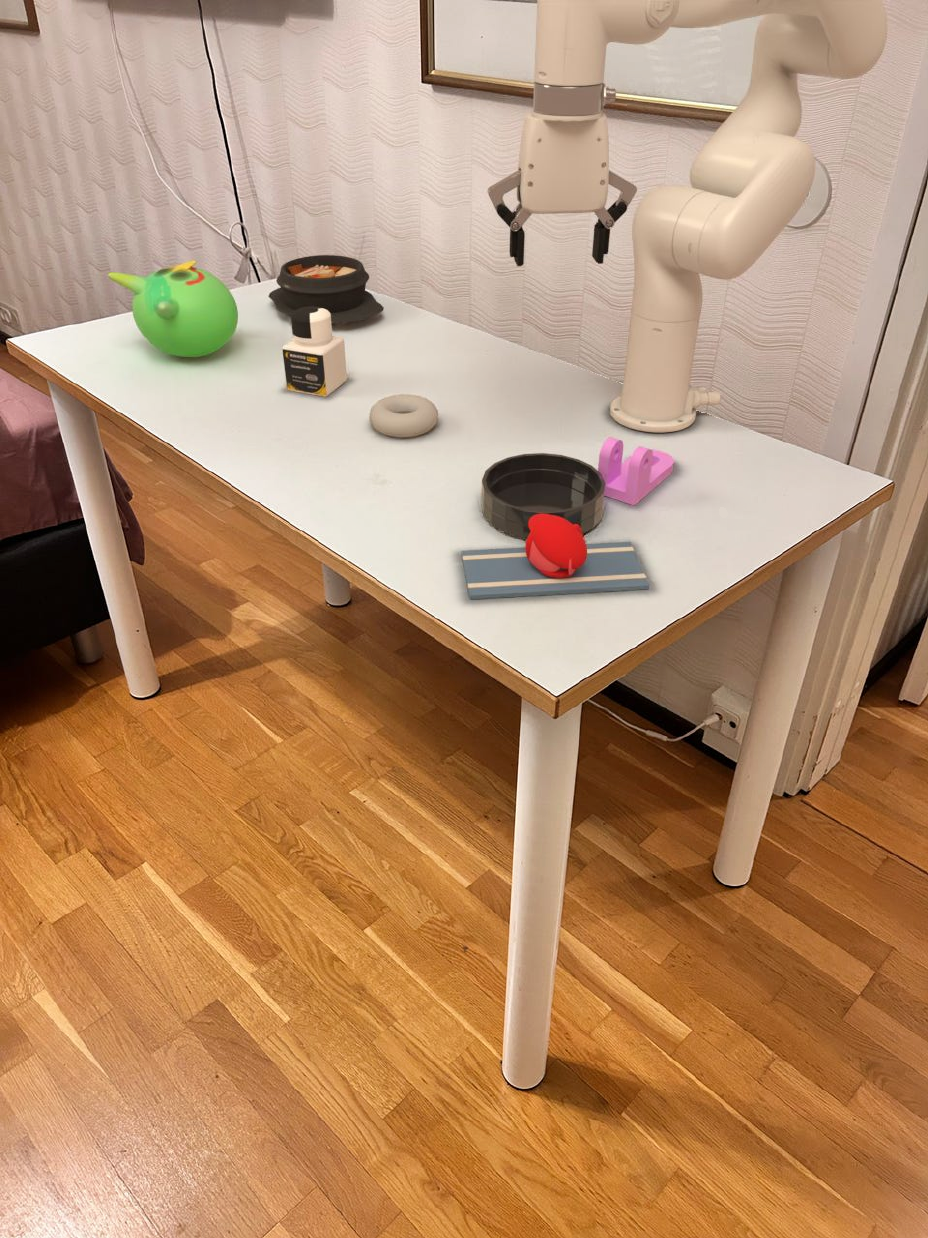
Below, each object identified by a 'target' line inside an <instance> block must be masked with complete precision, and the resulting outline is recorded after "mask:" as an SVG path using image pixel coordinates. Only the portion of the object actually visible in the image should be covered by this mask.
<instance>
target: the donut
mask: <svg viewBox="0 0 928 1238" xmlns="http://www.w3.org/2000/svg"><path fill="white" fill-rule="evenodd" d="M369 411H370V412H369V416H368V417H369V421H370V424H371V425H372V427H373V429H375V430H376V431H378V432H379V433H380V434H383V435H386V436H389V437H393V438H412V437H417V436H421V435H424V434H426V433H428V432H430V431H431V430H432V429H433V428H435V426H436V425H437V422H438V418H439V411H438V409H437V407H436V405H435V403H433V402H432V400H429V399H428V398H426V397H423V396H420V395H416V394H409V393H408V394H407V393H405V394H402V393H401V394H394V395H393V394H392V395H390V396H386V397H383V398H381V399H380V400H378V401H377V402H375V403H374V404H373V405H372V407H371V408H370V410H369Z"/></svg>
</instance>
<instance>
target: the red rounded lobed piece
mask: <svg viewBox="0 0 928 1238" xmlns="http://www.w3.org/2000/svg"><path fill="white" fill-rule="evenodd" d="M528 526H529V529H530V531H531V532H530V534H529V536H528V538H527V539H525V545H524V546H525V551H526V555H527V558H528V560H529V561H530V562H531V563H532V564H533V565H534V566H535V567H536V568H537V569H538V570H539V571H540V572H541V573H543V574H544V575H546V576H549V577H555V578H564V577H569V576H571V575H572V574H573V573H574V572H575V571H576V570H577V568H579V567H581V566H582V565H583V564H584V562H585V560H586V558H587V546H586V544H587V543H586V540H585V538H584V533H583V532H582V530H581V528H580V526H579V525H578V524H574V525H573V524H572V523H570V522H569V521H567V520H566V519H564V518H562V517H559V516H555V515H549V514H536V515H534V516H532V517H531V518H530V519H529V522H528ZM560 567H561V568H565V569H566V570H558V569H559V568H560Z"/></svg>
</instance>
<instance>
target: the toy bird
mask: <svg viewBox="0 0 928 1238" xmlns="http://www.w3.org/2000/svg"><path fill="white" fill-rule="evenodd" d="M197 262H198V261H197V260H189V261H186V262H183V263H180V264H177V265H173V266H168V267H163V268H160V269H158V270H156V271H154V272H151V273H150V274H149V275H147V276H146V277H145V276H140V275H135V274H129V273H123V272H116V271H114V272H112V271H111V272H109V273H108V274H107V277H108V278H109V279H111V280H112V282H115V283H116V284H118V285H120V286H121V287H123V288H125V289H126V290H129V291H130V292H132V293H133V297H132V302H131V310H132V316H133V320H134V322H135V325H136V327H137V329H138V330H139V331H140V333H141V334H142V336H143V337H144V338H145V339H146V340H147V341H148V342H149V343H150V344H151V345H153V346H154V347H155V348H156V349H158V350H160V351H161V352H164V353H166V354H169V355H172V356H175V357H181V358H198V357H203V356H207V355H210V354H213V353H215V352H217V351H219V350H220V349H222V348H223V347H225V346H226V345H227V343H229V342H230V340H231V339H232V338H233V336H234V334H235V332H236V330H237V327H238V323H239V322H238V321H239V312H238V311H239V310H238V306H237V303H236V300H235V298H234V296H233V294H232V293H231V290H229V287H227V286H226V285H225V284H224V282H223V281H222V280H220V279H219V278H218V277H217V276H215V275H214V274H213V273H211V272H209V271H206V270H204V269H202V268H199V267H195V265H196V264H197Z"/></svg>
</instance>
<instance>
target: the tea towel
mask: <svg viewBox="0 0 928 1238" xmlns="http://www.w3.org/2000/svg"><path fill="white" fill-rule="evenodd" d="M586 546H587V558H586V560H585V562H584V564H583V565H582V566H581V567H579V568H577V570H576V571H575V572H574V573H573V574H572V575H571V576H569V577H564V578H555V577H549V576H546V575H544V574H543V573H541V572H540V571H539V570H538V569H537V568H536V567H535V566H534V565H533V564H532V563H531V562H530V561H529V560H528V558H527V555H526V551H525V547H523V546H522V547H507V548H505V547H504V548H489V549H487V548H485V549H471V550H461V560H462V565H463V566H462V567H463V571H464V577H465V582H466V587H467V592H468V593H467V594H468V599H469V600H470V601H471V600H487V599H502V598H505V599H506V598H520V597H537V596H553V595H554V596H556V595H573V594H574V595H575V594H585V593H586V594H587V593H588V594H589V593H605V592H622V591H623V592H624V591H640V590H641V591H642V590H649V589H650V584H649V582H648V580H647V575H646V574H645V573H644V570H643V568H642V566H641V563H640V562H639V559H638V557H637V554H636V553H635V549H634V546H633V545H632V543H631V542H630V541H619V542H618V541H617V542H616V541H615V542H600V543H599V542H598V543H597V542H596V543H586ZM558 570H566V569H565V568H561V567H560V568H559V569H558Z"/></svg>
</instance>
